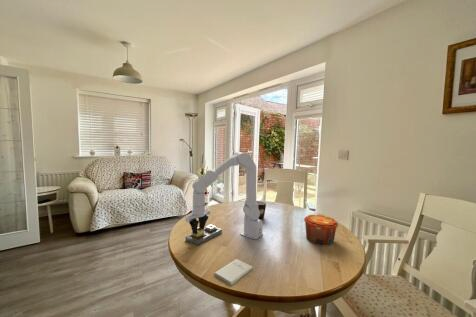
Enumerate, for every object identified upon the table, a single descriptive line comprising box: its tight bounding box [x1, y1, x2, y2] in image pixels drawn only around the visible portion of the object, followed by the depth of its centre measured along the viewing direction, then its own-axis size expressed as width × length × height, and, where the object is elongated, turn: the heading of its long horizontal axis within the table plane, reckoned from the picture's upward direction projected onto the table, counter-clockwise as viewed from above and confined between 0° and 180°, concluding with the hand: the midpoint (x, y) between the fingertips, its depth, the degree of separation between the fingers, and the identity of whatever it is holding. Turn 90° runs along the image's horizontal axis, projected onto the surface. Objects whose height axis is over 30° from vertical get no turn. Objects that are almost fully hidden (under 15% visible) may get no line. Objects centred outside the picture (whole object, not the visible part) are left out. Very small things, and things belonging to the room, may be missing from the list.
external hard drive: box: [214, 258, 253, 286], centre depth 77 cm, size 2×8×12 cm
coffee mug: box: [256, 200, 267, 221], centre depth 134 cm, size 12×9×10 cm
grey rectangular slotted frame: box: [185, 226, 223, 246], centre depth 105 cm, size 8×18×2 cm, turn 145°
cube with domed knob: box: [204, 224, 217, 233], centre depth 108 cm, size 4×4×4 cm
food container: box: [303, 214, 339, 246], centre depth 105 cm, size 16×16×11 cm
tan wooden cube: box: [191, 226, 204, 240], centre depth 101 cm, size 4×4×4 cm
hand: (198, 231), depth 101 cm, fingers closed on tan wooden cube, 4 cm apart
